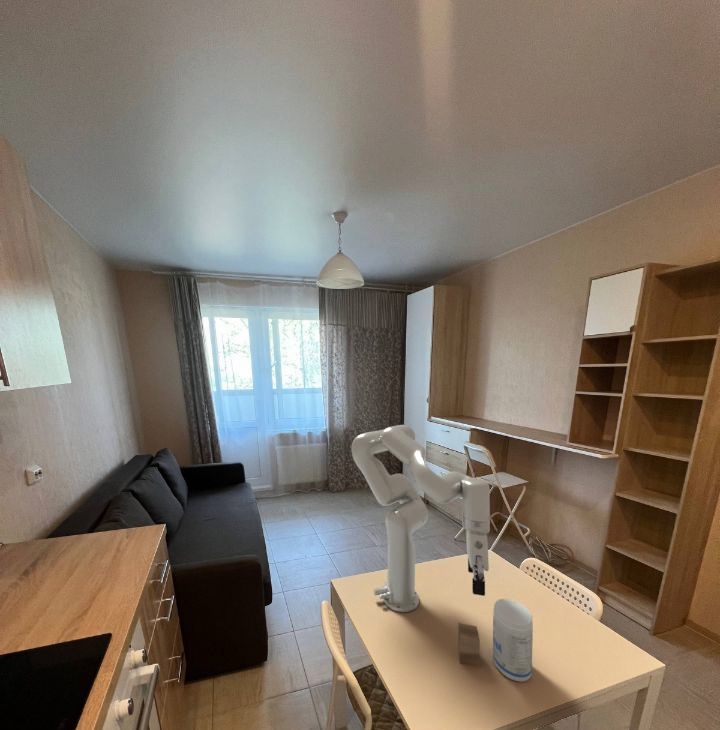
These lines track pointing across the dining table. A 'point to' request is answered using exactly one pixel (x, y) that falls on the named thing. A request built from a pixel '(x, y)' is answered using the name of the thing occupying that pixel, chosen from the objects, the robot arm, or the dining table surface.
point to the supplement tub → (512, 639)
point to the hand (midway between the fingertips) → (476, 582)
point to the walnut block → (468, 645)
